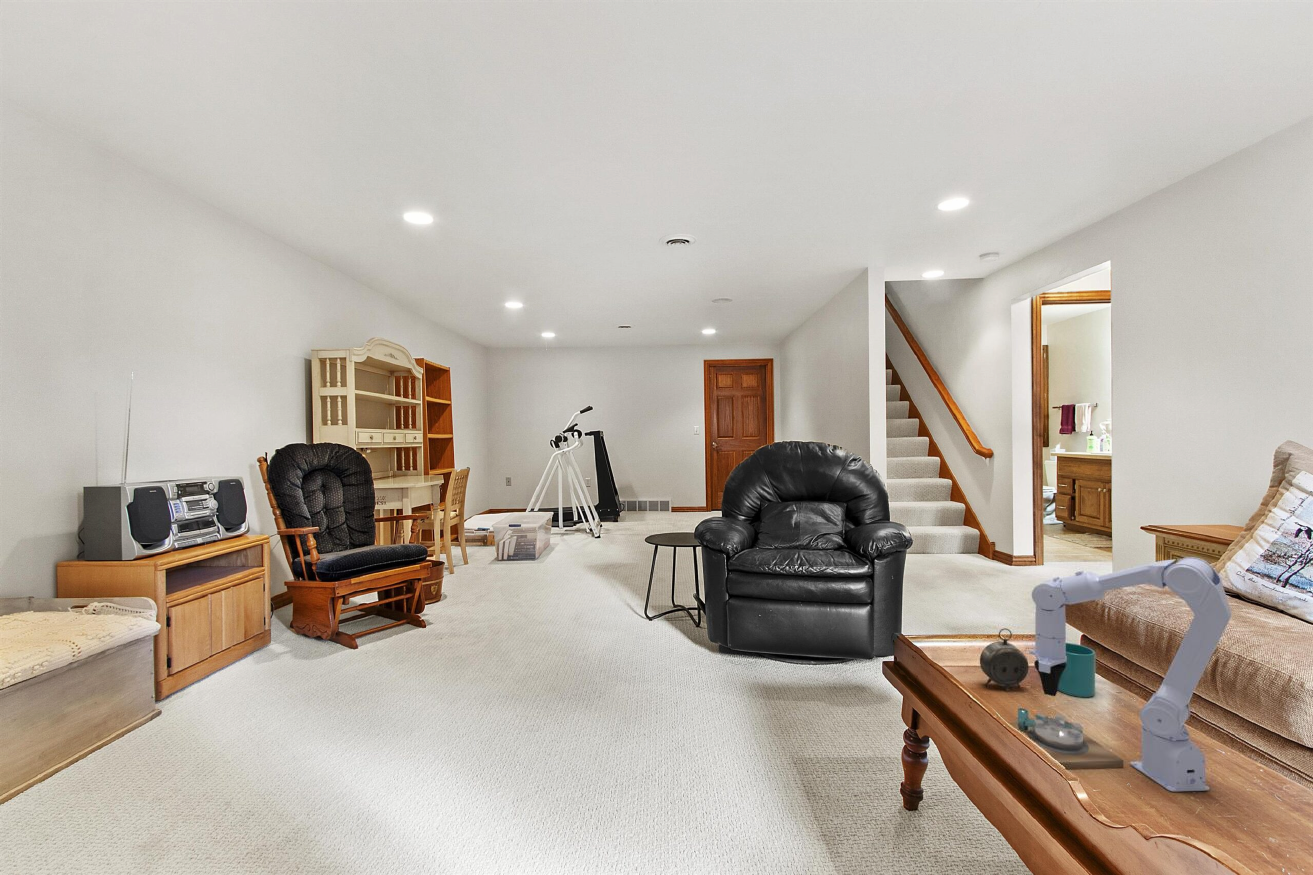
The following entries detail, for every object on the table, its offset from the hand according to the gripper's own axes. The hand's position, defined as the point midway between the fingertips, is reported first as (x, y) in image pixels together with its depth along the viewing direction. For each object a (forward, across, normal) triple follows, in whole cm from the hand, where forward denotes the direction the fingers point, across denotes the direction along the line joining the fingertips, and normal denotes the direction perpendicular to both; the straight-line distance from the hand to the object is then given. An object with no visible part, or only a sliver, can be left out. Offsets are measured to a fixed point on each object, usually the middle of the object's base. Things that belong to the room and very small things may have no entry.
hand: (1050, 694), depth 133 cm
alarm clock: (+10, -20, -13) cm, 26 cm away
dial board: (+9, +5, +2) cm, 11 cm away
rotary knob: (+7, +5, +1) cm, 9 cm away
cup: (+10, -30, -1) cm, 32 cm away
